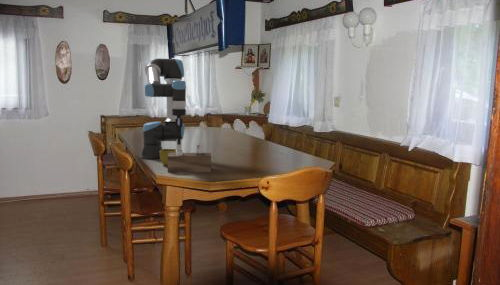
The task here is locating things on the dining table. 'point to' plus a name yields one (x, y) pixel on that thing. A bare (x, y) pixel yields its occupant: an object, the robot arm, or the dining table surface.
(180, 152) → the peg
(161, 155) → the flower pot
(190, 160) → the tan grooved block
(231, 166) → the dining table surface
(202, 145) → the peg
